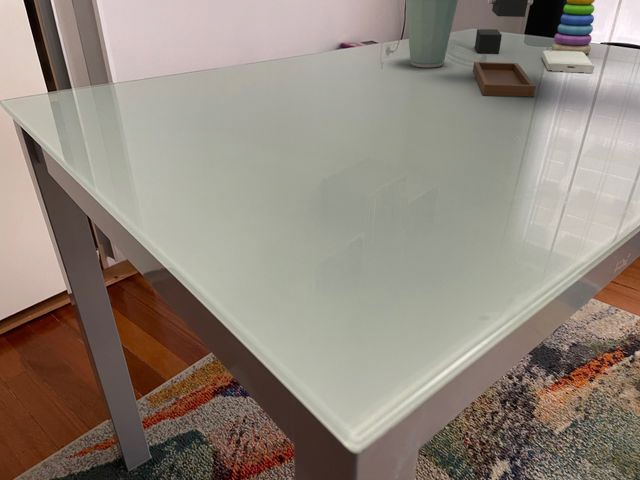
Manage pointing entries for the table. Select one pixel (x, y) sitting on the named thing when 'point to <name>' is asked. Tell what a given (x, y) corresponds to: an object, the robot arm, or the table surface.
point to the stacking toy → (575, 27)
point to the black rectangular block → (510, 8)
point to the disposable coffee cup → (429, 30)
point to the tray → (502, 79)
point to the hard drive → (567, 61)
